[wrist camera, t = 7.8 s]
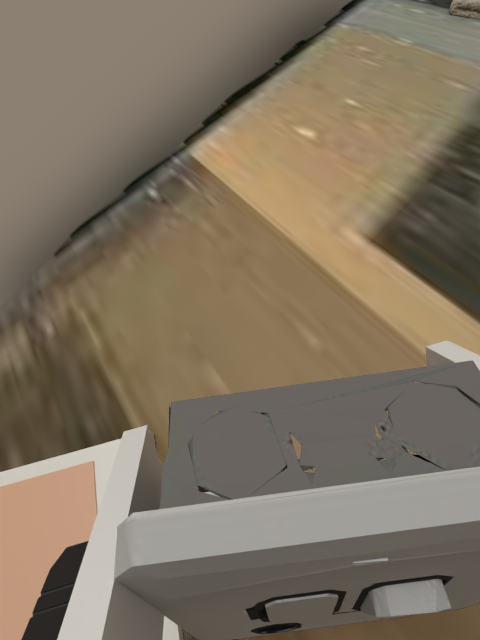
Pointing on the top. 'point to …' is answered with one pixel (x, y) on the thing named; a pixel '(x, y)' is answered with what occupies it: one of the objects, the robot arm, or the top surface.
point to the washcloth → (466, 8)
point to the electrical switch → (314, 506)
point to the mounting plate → (49, 526)
